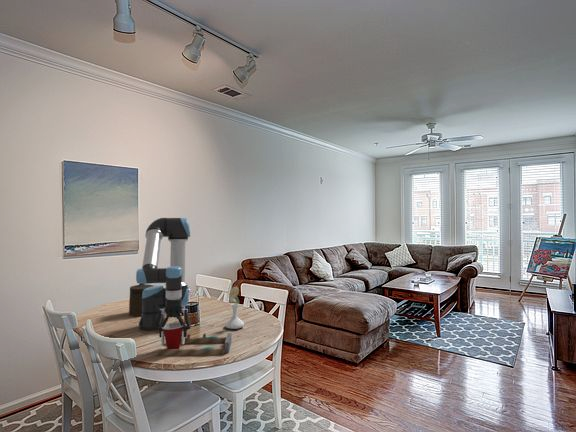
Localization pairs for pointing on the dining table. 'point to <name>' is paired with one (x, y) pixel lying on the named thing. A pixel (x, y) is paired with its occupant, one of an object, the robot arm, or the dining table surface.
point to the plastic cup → (173, 335)
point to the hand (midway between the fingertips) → (173, 343)
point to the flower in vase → (234, 311)
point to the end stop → (228, 343)
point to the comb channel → (200, 350)
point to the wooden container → (136, 299)
